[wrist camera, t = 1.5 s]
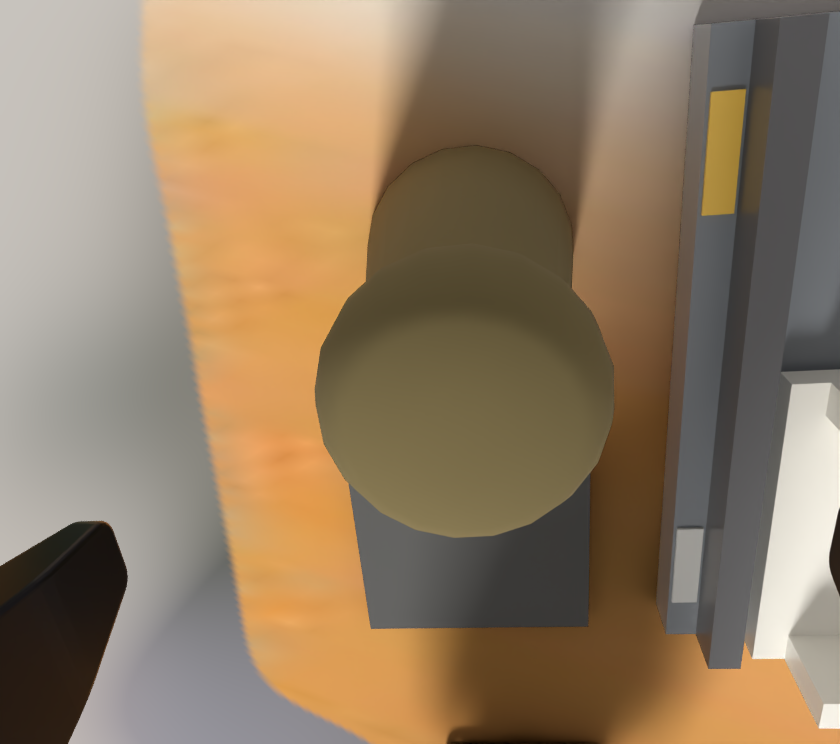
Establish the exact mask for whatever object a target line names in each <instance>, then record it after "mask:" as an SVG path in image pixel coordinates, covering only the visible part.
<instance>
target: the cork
mask: <svg viewBox="0 0 840 744" xmlns="http://www.w3.org/2000/svg"><path fill="white" fill-rule="evenodd" d="M572 269H573V244H572V225H571V222H570V219H569V217H568V214H567V212H566V209H565V206H564V204H563V201H562V199H561V196H560V194H559V193H558V192H557V191H556V190H555V188H554V187H553V186H552V185H551V184H550V182H549V181H548V180H547V179H546V178H545V176H544V175H543V174H542V173H541V172H540V171H539V169H537V168H535V167H534V166H532V165H530V164H529V163H527V162H525V161H523V160H522V159H520V158H518V157H517V156H515V155H513V154H512V153H510V152H506V151H501V150H496V149H492V148H487V147H482V146H477V145H474V146H466V147H457V148H449V149H442V150H440V151H438V152H436V153H433V154H431V155H429V156H427V157H425V158H423V159H421V160H419V161H417V162H414V163H412V164H411V165H410V166H409V167H408V168H407V169H406V170H405V171H404V172H403V173H402V174H401V175H400V176H399V177H397V178H396V179H395V180H394V181H393V182H392V183H391V184H390V185H389V186H388V187H387V189H386V191H385V193H384V195H383V197H382V199H381V201H380V203H379V204H378V206H377V208H376V210H375V212H374V214H373V217H372V223H371V229H370V235H369V241H368V249H367V269H366V282H365V283H364V284H363V285H362V286H361V287H360V288H358V289H357V290H356V291H355V292H354V293H353V294H352V295H351V296H350V297H349V298H348V299H347V301H346V302H345V304H344V306H343V308H342V309H341V311H340V313H339V315H338V317H337V319H336V321H335V322H334V324H333V326H332V328H331V330H330V332H329V334H328V336H327V337H326V339H325V341H324V343H323V345H322V347H321V350H320V357H319V364H318V371H317V378H316V385H315V401H316V408H317V413H318V418H319V423H320V428H321V433H322V437H323V442H324V445H325V447H326V449H327V450H328V452H329V454H330V455H331V457H332V459H333V460H334V462H335V464H336V465H337V467H338V469H339V471H340V472H341V474H342V476H343V477H344V479H345V480H346V481H347V482H348V483H349V484H350V485H351V486H352V487H353V488H354V489H355V490H356V491H357V492H359V493H360V494H361V495H362V496H363V497H364V498H365V499H366V500H367V501H369V502H370V503H371V504H372V505H373V506H374V507H375V508H376V509H377V510H378V511H380V512H381V513H382V514H384V515H386V516H388V517H390V518H392V519H395V520H397V521H399V522H401V523H403V524H405V525H407V526H409V527H411V528H413V529H415V530H418V531H423V532H428V533H433V534H438V535H443V536H448V537H453V538H461V537H480V536H495V535H498V534H501V533H504V532H507V531H510V530H513V529H516V528H519V527H522V526H525V525H529V524H531V523H533V522H534V521H536V520H537V519H539V518H540V517H542V516H543V515H545V514H546V513H548V512H549V511H551V510H552V509H554V508H555V507H557V506H558V505H560V504H561V503H563V502H564V501H565V500H567V499H568V498H569V497H570V496H572V495H573V493H574V492H575V491H576V490H577V488H578V487H579V486H580V485H581V483H582V482H583V481H584V480H585V478H586V477H587V476H588V475H589V473H590V472H591V471H592V470H593V468H594V467H595V466H596V465H597V463H598V462H599V459H600V456H601V453H602V450H603V448H604V445H605V442H606V439H607V436H608V434H609V431H610V428H611V425H612V420H613V414H614V365H613V363H612V360H611V357H610V355H609V352H608V350H607V347H606V345H605V342H604V339H603V337H602V334H601V332H600V329H599V327H598V324H597V322H596V320H595V318H594V316H593V313H592V312H591V310H590V309H589V308H588V307H587V306H586V305H585V304H584V302H583V301H582V300H581V299H580V298H579V297H578V296H577V294H576V293H575V292H574V291H573V290H572Z"/></svg>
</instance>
